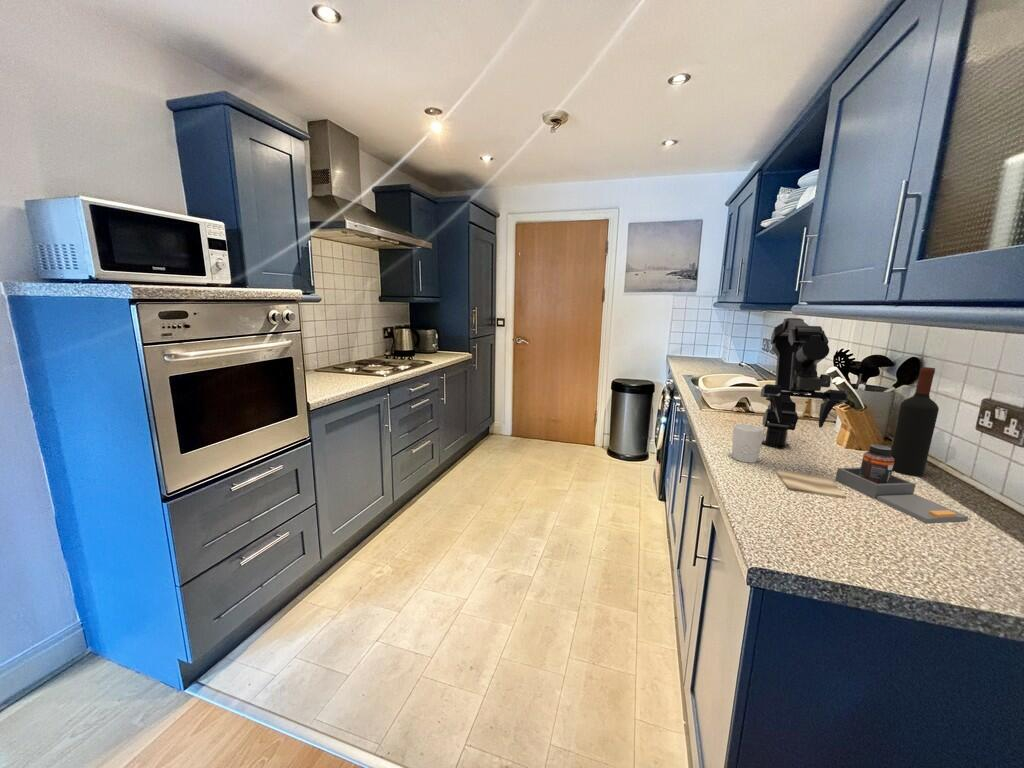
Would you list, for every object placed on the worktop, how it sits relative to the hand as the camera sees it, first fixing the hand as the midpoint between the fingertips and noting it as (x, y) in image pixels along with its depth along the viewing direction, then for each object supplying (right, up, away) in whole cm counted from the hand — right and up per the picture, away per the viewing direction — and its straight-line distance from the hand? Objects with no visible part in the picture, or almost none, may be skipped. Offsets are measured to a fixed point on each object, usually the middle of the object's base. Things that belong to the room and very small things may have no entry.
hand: (799, 425), depth 110 cm
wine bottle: (+35, -14, +6) cm, 38 cm away
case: (+15, -17, -11) cm, 25 cm away
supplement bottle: (+14, -16, -6) cm, 22 cm away
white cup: (-8, -12, +13) cm, 19 cm away
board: (-1, -15, -4) cm, 16 cm away
